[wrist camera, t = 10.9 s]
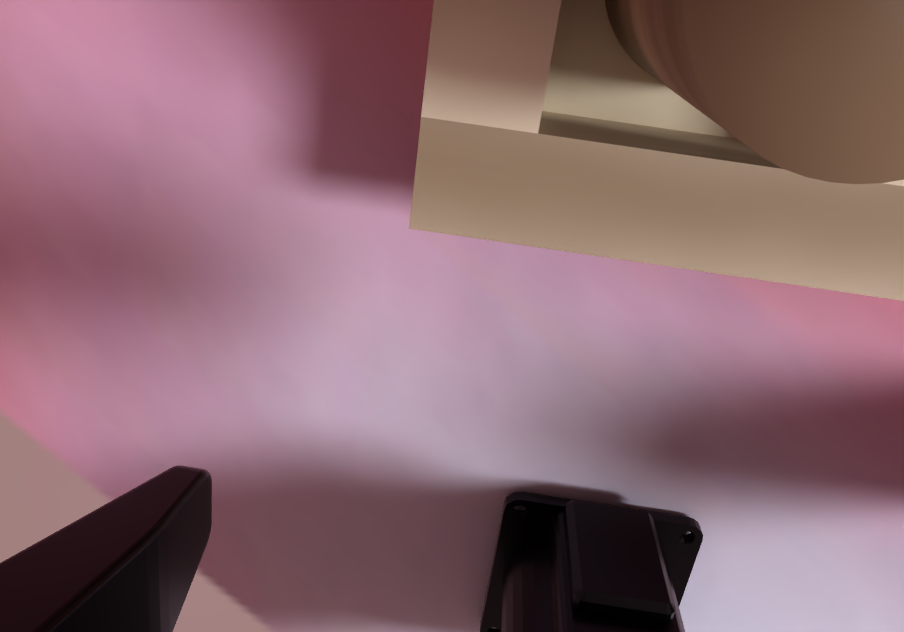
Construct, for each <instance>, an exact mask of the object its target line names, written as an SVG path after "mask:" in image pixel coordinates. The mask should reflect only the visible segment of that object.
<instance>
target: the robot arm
mask: <svg viewBox="0 0 904 632" xmlns="http://www.w3.org/2000/svg"><path fill="white" fill-rule="evenodd" d="M516 506H523V507H525V509H523V510H516V509H514V507H516ZM211 521H212V479H211V475H210V473H209V472H208V471H207V470H205V469H199V468H193V467H187V466H175V467H172V468H170V469H168V470H166V471H165V472H163V473H161V474H159V475H157V476H156V477H154V478H152V479H150V480H149V481H147V482H145V483H143V484H141V485H140V486H138V487H136V488H134V489H132V490H131V491H129V492H127V493H125V494H123V495H122V496H120V497H118V498H116V499H114V500H113V501H111V502H109V503H107V504H105V505H104V506H102V507H100V508H98V509H96V510H95V511H93V512H91V513H90V514H88V515H86V516H84V517H82V518H80V519H79V520H77V521H75V522H73V523H71V524H70V525H68V526H66V527H64V528H62V529H61V530H59V531H57V532H55V533H53V534H52V535H50V536H48V537H46V538H45V539H43V540H41V541H39V542H37V543H35V544H34V545H32V546H30V547H28V548H27V549H25V550H23V551H21V552H19V553H18V554H16V555H14V556H12V557H11V558H9V559H7V560H5V561H3V562H2V563H0V632H172V631H173V629H174V626H175V624H176V621H177V619H178V616H179V613H180V611H181V609H182V606H183V603H184V601H185V598H186V596H187V593H188V591H189V588H190V586H191V583H192V581H193V578H194V575H195V573H196V570H197V568H198V565H199V563H200V560H201V558H202V555H203V553H204V550H205V547H206V545H207V542H208V539H209V535H210V531H211ZM687 531H689V532H691V533H690V534H688V535H681V533H683V532H687ZM702 539H703V534H702V531H701V528H700V526H699V523H698V522H697V521H696V520H694V519H692V518H689V517H683V516H676V515H670V514H663V513H656V512H650V511H644V510H638V509H631V508H625V507H618V506H611V505H605V504H598V503H592V502H585V501H579V500H571V499H564V498H557V497H551V496H544V495H538V494H531V493H524V492H515V493H512V494H510V495H509V496H508V497H506V499H505V502H504V506H503V511H502V516H501V521H500V526H499V531H498V536H497V542H496V547H495V552H494V557H493V562H492V567H491V572H490V577H489V582H488V587H487V592H486V597H485V602H484V607H483V612H482V617H481V624H480V632H685V629H684V626H683V622H682V618H681V614H680V610H679V605H680V602H681V599H682V596H683V594H684V591H685V588H686V585H687V582H688V579H689V577H690V574H691V571H692V568H693V565H694V562H695V560H696V557H697V554H698V551H699V548H700V545H701V543H702ZM491 627H496V628H497V629H493V628H491Z"/></svg>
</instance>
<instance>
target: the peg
mask: <svg viewBox="0 0 904 632" xmlns="http://www.w3.org/2000/svg"><path fill="white" fill-rule="evenodd" d="M605 6H606V10H607V15H608V19H609V22H610V24H611V27H612V29H613V32H614V34H615V36H616V38H617V40H618V41H619V43H620V45H621V46H622V48H623V49H624V50H625V52H626V53H627V54H628V56H629V57H630V58H631V59H632V60H633V61H634V62H635V63H636V64H637V65H638V66H640V67H641V68H642V69H644V70H645V71H646V72H648V73H649V74H650V75H652V76H653V77H654V78H656V79H657V80H658V81H660V82H661V83H662V84H664V85H665V86H666V87H668V88H669V89H671V90H672V91H673V92H675V93H676V94H677V95H679V96H680V97H681V98H683V99H684V100H685V101H687V102H688V103H689V104H691V105H692V106H693V107H695V108H696V109H698V110H699V111H700V112H702V113H703V114H704V115H706V116H707V117H708V118H710V119H711V120H712V121H714V122H715V123H716V124H718V125H719V126H720V127H722V128H723V129H725V130H726V131H727V132H729V133H730V134H731V135H733V136H734V137H735V138H737V139H738V140H739V141H741V142H742V143H743V144H745V145H746V146H747V147H749V148H750V149H752V150H753V151H754V152H756V153H757V154H758V155H760V156H761V157H762V158H764V159H766V160H768V161H770V162H772V163H773V164H775V165H777V166H779V167H781V168H783V169H785V170H788V171H791V172H793V173H796V174H799V175H802V176H804V177H808V178H812V179H817V180H822V181H826V182H832V183H845V184H875V183H886V182H892V181H898V180H904V0H605Z"/></svg>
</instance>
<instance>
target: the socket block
mask: <svg viewBox="0 0 904 632" xmlns="http://www.w3.org/2000/svg"><path fill="white" fill-rule="evenodd" d="M409 228H410V229H417V230H423V231H430V232H437V233H444V234H451V235H458V236H464V237H471V238H478V239H485V240H492V241H499V242H505V243H512V244H519V245H526V246H533V247H539V248H546V249H553V250H560V251H567V252H574V253H580V254H587V255H594V256H601V257H608V258H615V259H621V260H628V261H635V262H642V263H649V264H655V265H662V266H669V267H676V268H683V269H690V270H696V271H703V272H710V273H717V274H724V275H731V276H737V277H744V278H751V279H758V280H765V281H771V282H778V283H785V284H792V285H799V286H806V287H812V288H819V289H826V290H833V291H840V292H847V293H853V294H860V295H867V296H874V297H881V298H887V299H894V300H901V301H904V180H898V181H892V182H886V183H875V184H845V183H832V182H826V181H822V180H817V179H812V178H808V177H804V176H802V175H799V174H796V173H793V172H791V171H788V170H785V169H783V168H781V167H779V166H777V165H775V164H773V163H772V162H770V161H768V160H766V159H764V158H762V157H761V156H760V155H758V154H757V153H756V152H754V151H753V150H752V149H750V148H749V147H747V146H746V145H745V144H743V143H742V142H741V141H739V140H738V139H737V138H735V137H734V136H733V135H731V134H730V133H729V132H727V131H726V130H725V129H723V128H722V127H720V126H719V125H718V124H716V123H715V122H714V121H712V120H711V119H710V118H708V117H707V116H706V115H704V114H703V113H702V112H700V111H699V110H698V109H696V108H695V107H693V106H692V105H691V104H689V103H688V102H687V101H685V100H684V99H683V98H681V97H680V96H679V95H677V94H676V93H675V92H673V91H672V90H671V89H669V88H668V87H666V86H665V85H664V84H662V83H661V82H660V81H658V80H657V79H656V78H654V77H653V76H652V75H650V74H649V73H648V72H646V71H645V70H644V69H642V68H641V67H640V66H638V65H637V64H636V63H635V62H634V61H633V60H632V59H631V58H630V57H629V56H628V54H627V53H626V52H625V50H624V49H623V48H622V46H621V45H620V43H619V41H618V40H617V38H616V36H615V34H614V32H613V29H612V27H611V24H610V22H609V19H608V15H607V10H606V6H605V0H434V1H433V11H432V20H431V29H430V38H429V48H428V57H427V66H426V76H425V85H424V94H423V104H422V113H421V122H420V132H419V141H418V150H417V160H416V169H415V178H414V187H413V197H412V206H411V215H410V225H409Z"/></svg>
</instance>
